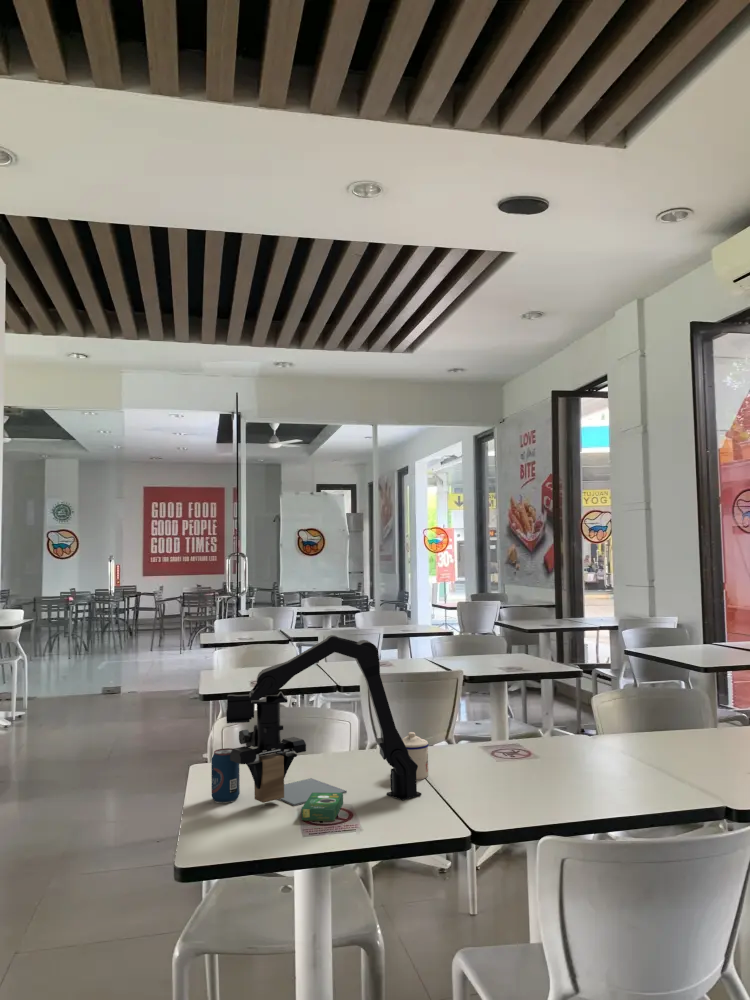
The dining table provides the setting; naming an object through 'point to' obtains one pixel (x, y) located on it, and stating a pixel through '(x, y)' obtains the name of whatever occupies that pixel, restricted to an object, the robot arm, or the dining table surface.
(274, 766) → the brown wooden block
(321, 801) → the coffee box
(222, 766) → the soda can
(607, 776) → the dining table surface
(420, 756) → the teacup with lid
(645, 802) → the dining table surface
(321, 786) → the slate mat
